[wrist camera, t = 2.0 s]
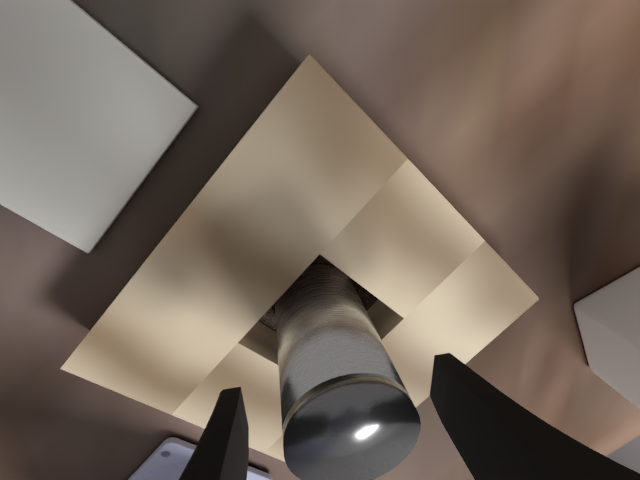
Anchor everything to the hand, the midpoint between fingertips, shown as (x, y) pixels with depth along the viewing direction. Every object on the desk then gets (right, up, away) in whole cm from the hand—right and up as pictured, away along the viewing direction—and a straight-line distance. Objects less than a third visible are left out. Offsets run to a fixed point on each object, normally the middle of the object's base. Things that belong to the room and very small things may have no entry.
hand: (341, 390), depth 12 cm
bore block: (-1, +2, +6) cm, 6 cm away
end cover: (-1, +2, +6) cm, 6 cm away
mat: (-11, +10, 0) cm, 15 cm away
